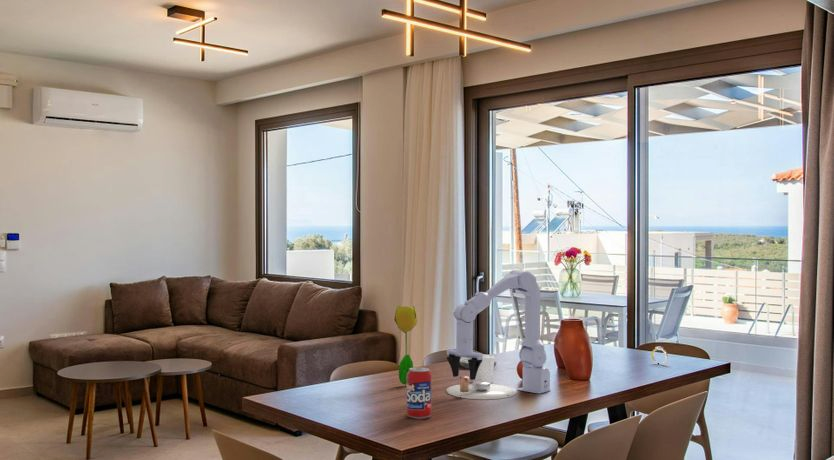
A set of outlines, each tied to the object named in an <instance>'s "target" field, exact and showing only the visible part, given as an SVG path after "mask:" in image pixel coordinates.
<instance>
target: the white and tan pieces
mask: <svg viewBox="0 0 834 460" xmlns="http://www.w3.org/2000/svg"><path fill="white" fill-rule="evenodd" d="M469 381H470V376H467V375H461V376H460V377H459V385H460V392H463V393H465V392H469V391H473V390H489V389H490V384H491V383H490V382H487V381H475V380H474V381H473V382H472V384H473V385H472V387H470V388H469V384H470V383H469Z"/></svg>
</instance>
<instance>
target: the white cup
mask: <svg viewBox="0 0 834 460" xmlns="http://www.w3.org/2000/svg"><path fill="white" fill-rule="evenodd" d="M482 354H483V353H482ZM494 361H495V356H494V355H492V354H483V359H482V362H481V364H480V366H479V368H478V371H477V374H476V378H475V379H474V381H487V382H490V384H493V382H494V369H495V367H494Z"/></svg>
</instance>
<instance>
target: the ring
mask: <svg viewBox="0 0 834 460" xmlns="http://www.w3.org/2000/svg"><path fill="white" fill-rule="evenodd" d="M657 351H662V352H663V354H664V357H665V358H664V360H663V361H662V362H663V363H664V364H665V363H666V362H667V361H668V356H669V355H668V352H667V350H665V349H664V347H662V346H661V345H660V346H659V345H658V346H655V348H654V349H653V350H652V351H651V353H650V356H651V359H652V361H653V362H654V361H657V360H656V359H655V352H657Z"/></svg>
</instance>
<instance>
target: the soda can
mask: <svg viewBox="0 0 834 460" xmlns="http://www.w3.org/2000/svg"><path fill="white" fill-rule="evenodd" d="M432 406H433V374H432V373H431V369H430V368H428V367H419V366H417V367H414V366H413V368H410V369H409V372H408V373H407V384H406V415H407V416H408V417H409V418H411V419H413V418H414V420H425V419H428V418H430V417H431V416H432V415H433V414H432V413H433V407H432Z"/></svg>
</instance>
